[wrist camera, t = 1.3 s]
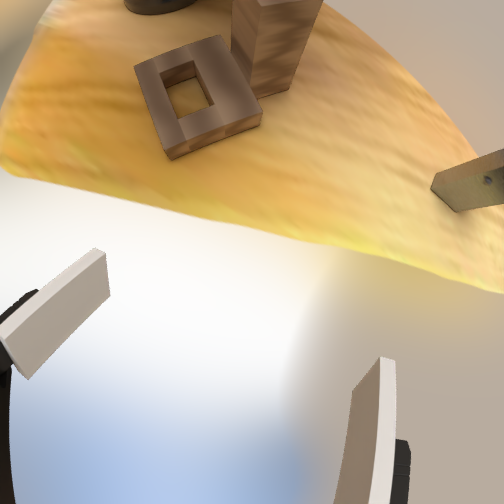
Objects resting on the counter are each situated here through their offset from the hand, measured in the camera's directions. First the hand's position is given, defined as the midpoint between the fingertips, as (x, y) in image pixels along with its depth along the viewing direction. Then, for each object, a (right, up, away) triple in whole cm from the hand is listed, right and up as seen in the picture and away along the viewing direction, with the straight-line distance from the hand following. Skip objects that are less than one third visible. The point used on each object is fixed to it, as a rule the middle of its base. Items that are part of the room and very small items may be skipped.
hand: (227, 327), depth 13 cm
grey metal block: (+31, +12, +25) cm, 42 cm away
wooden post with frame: (-3, +24, +23) cm, 34 cm away
